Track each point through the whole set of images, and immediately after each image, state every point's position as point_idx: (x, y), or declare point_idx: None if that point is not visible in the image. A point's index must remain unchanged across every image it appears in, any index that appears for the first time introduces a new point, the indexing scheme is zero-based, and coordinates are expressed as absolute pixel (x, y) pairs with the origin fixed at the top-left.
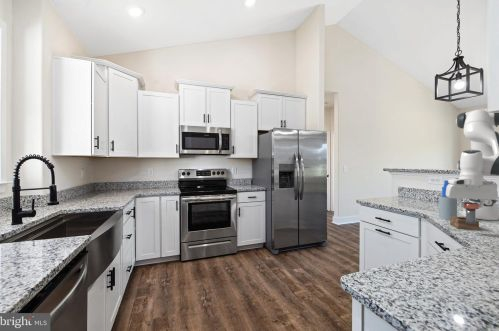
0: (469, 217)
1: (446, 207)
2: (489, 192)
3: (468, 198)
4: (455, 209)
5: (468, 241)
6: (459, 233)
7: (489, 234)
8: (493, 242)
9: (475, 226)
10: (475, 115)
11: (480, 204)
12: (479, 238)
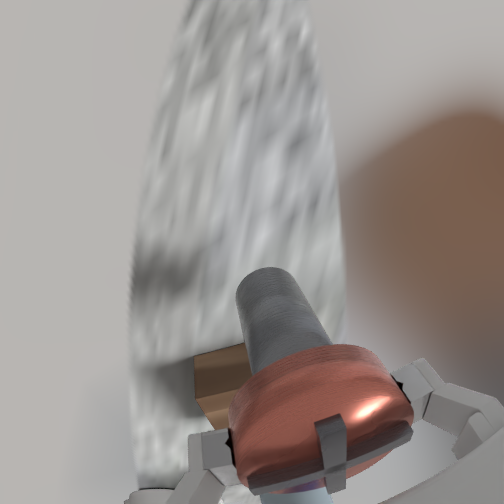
0: (298, 300)
1: (312, 494)
2: None
3: (425, 485)
4: (273, 497)
5: (303, 46)
6: (314, 222)
7: (151, 301)
8: (162, 103)
9: (211, 368)
10: None
11: (214, 474)
12: (223, 157)
